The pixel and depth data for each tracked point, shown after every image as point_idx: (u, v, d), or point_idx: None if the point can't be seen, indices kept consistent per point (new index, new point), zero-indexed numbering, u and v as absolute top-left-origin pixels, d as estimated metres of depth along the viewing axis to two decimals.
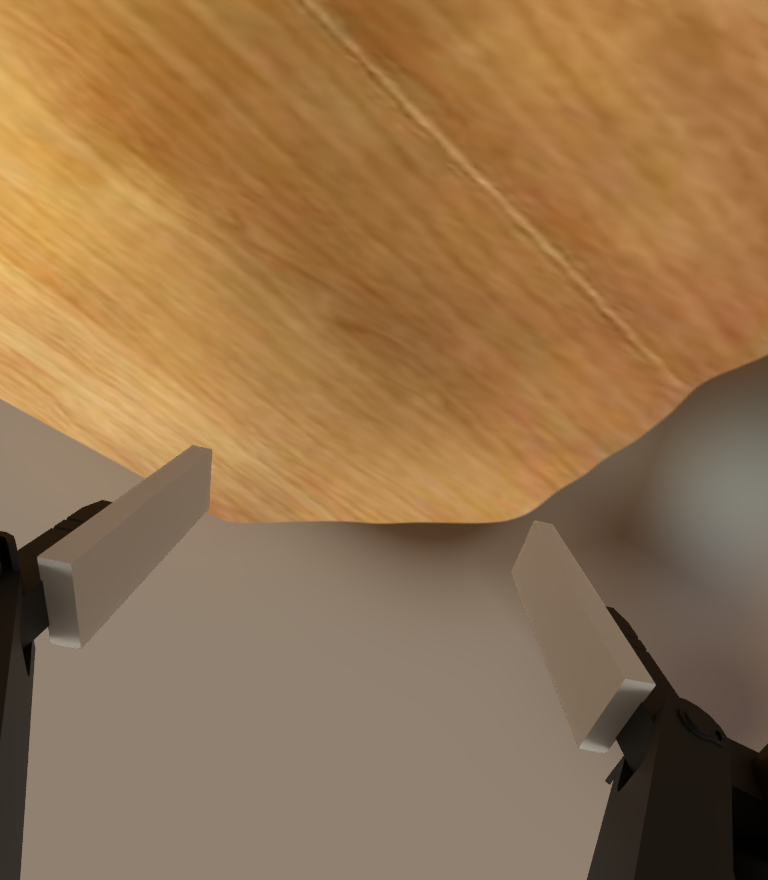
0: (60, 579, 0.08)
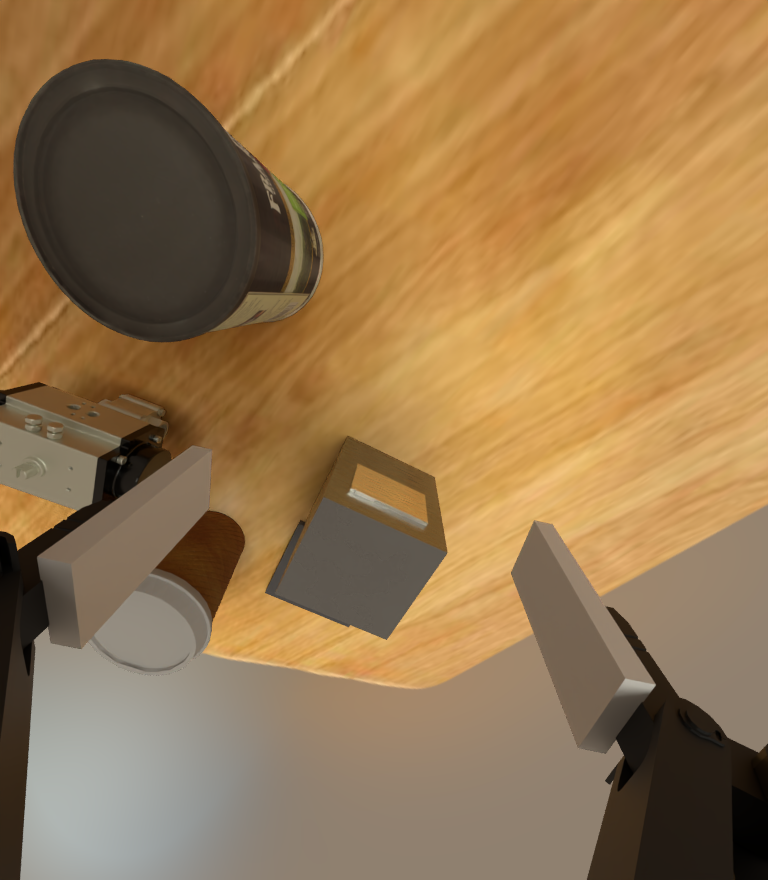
0: (60, 579, 0.08)
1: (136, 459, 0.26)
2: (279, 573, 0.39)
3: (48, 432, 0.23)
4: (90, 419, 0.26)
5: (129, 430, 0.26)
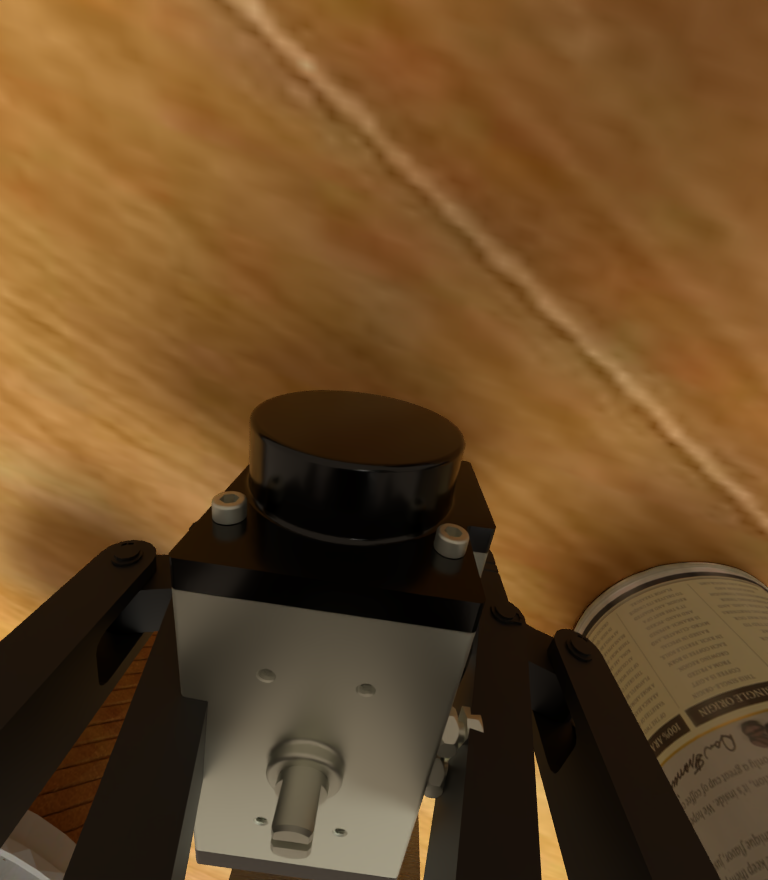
0: None
1: None
2: None
3: (442, 785, 0.07)
4: None
5: None
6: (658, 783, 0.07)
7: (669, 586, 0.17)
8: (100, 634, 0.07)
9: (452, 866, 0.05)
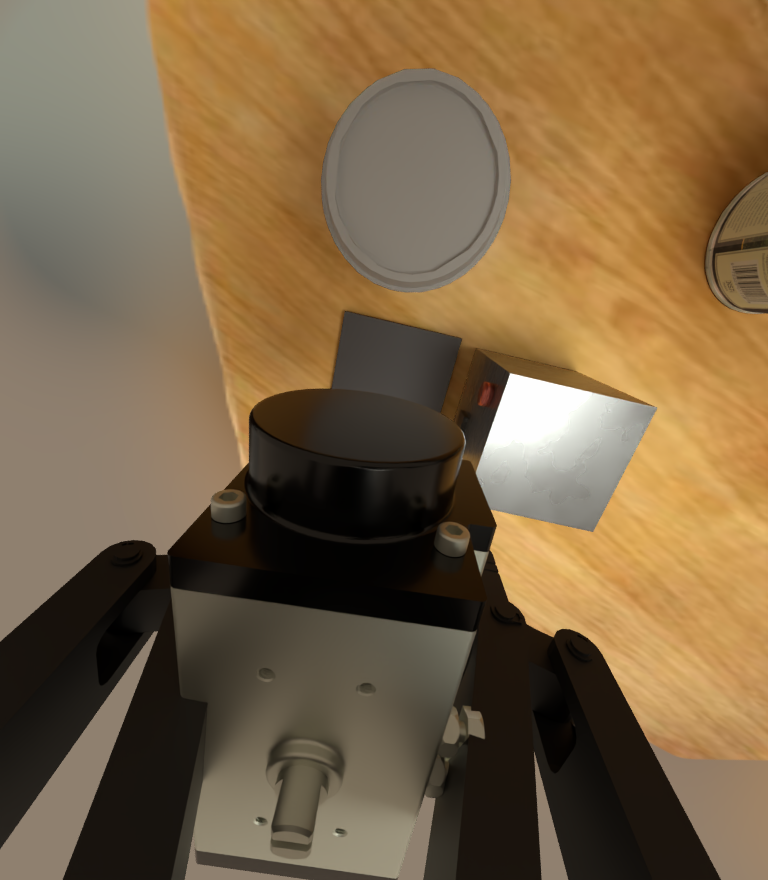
0: None
1: None
2: (381, 326, 0.31)
3: (443, 785, 0.07)
4: None
5: None
6: (658, 783, 0.07)
7: None
8: (101, 634, 0.08)
9: (452, 866, 0.05)
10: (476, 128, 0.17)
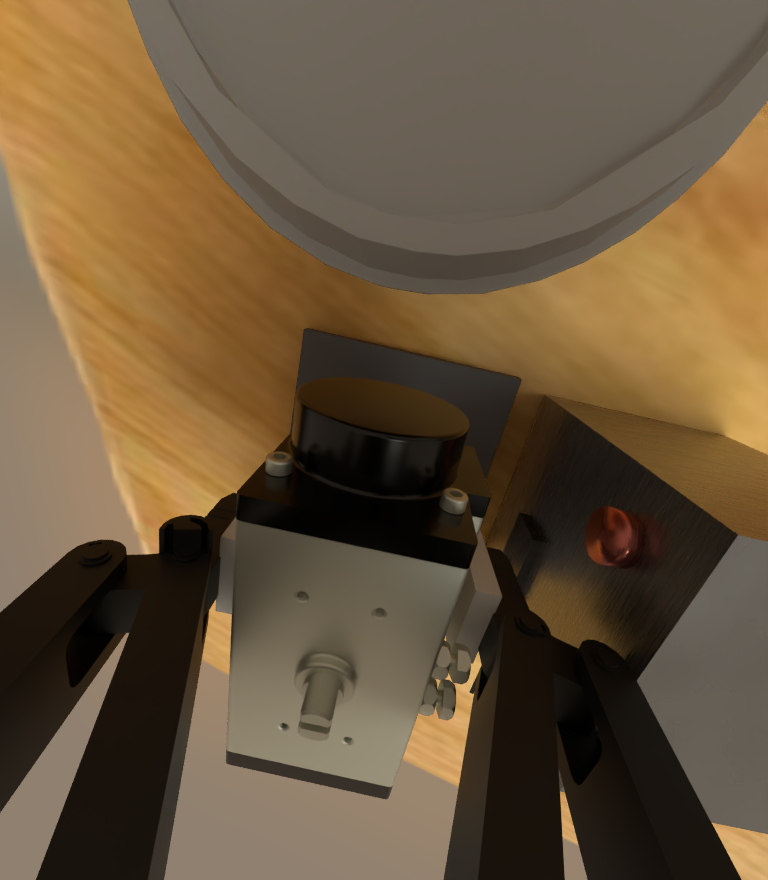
0: None
1: None
2: (373, 356, 0.17)
3: (434, 705, 0.09)
4: None
5: None
6: (688, 800, 0.07)
7: None
8: (70, 634, 0.07)
9: (473, 875, 0.05)
10: None
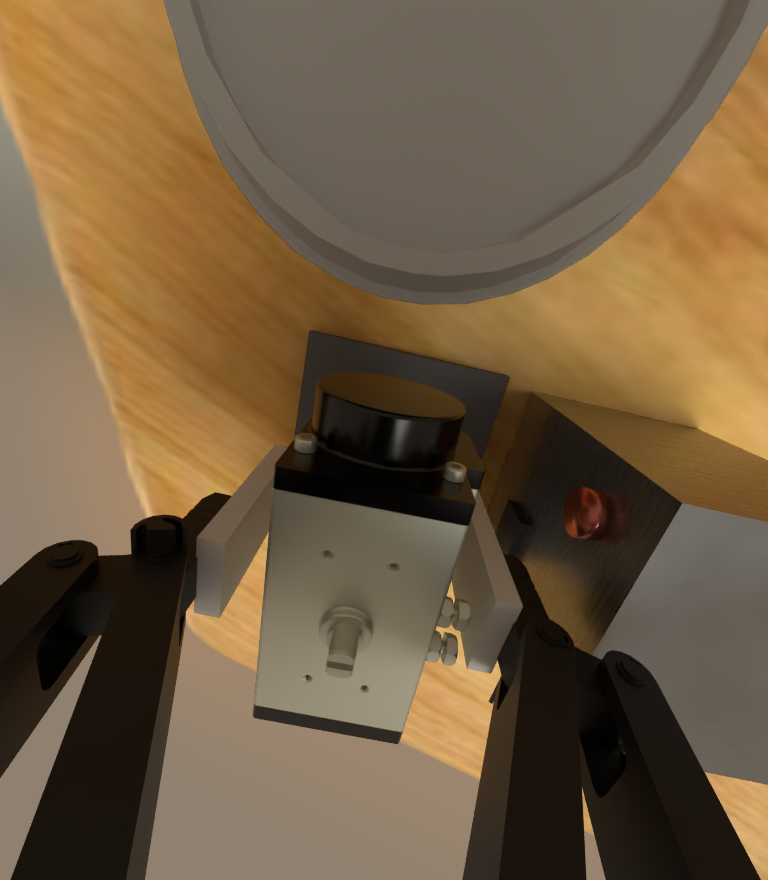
0: (213, 556, 0.10)
1: None
2: (372, 356, 0.18)
3: (439, 652, 0.10)
4: None
5: None
6: (717, 819, 0.06)
7: None
8: (39, 637, 0.07)
9: None
10: None
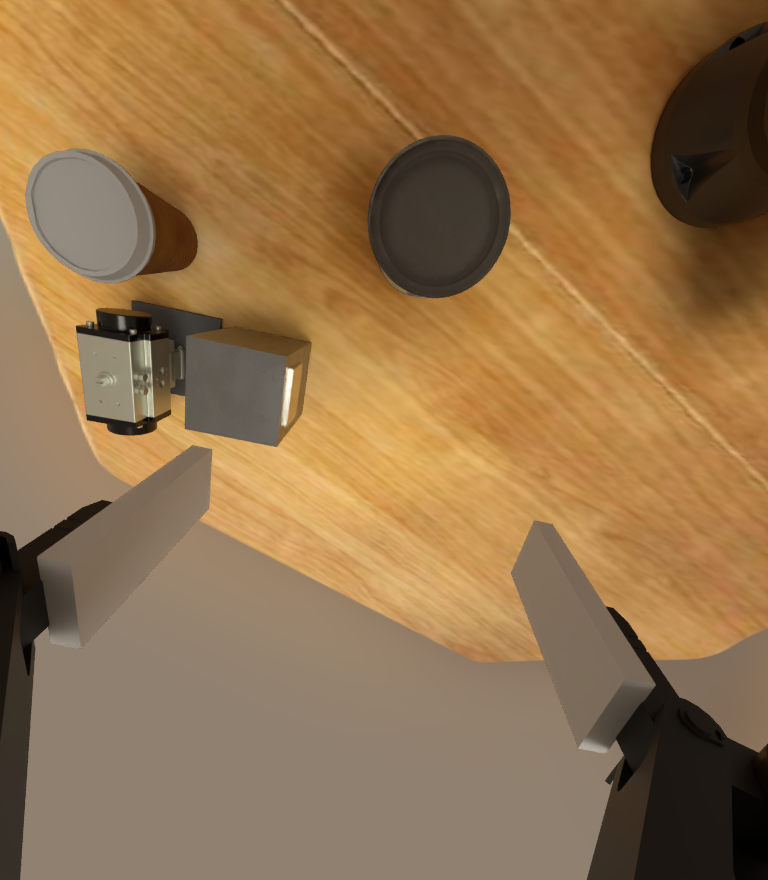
0: (60, 579, 0.08)
1: (143, 427, 0.38)
2: (160, 311, 0.42)
3: (138, 389, 0.35)
4: (157, 389, 0.37)
5: (161, 411, 0.39)
6: None
7: None
8: None
9: None
10: (111, 183, 0.28)
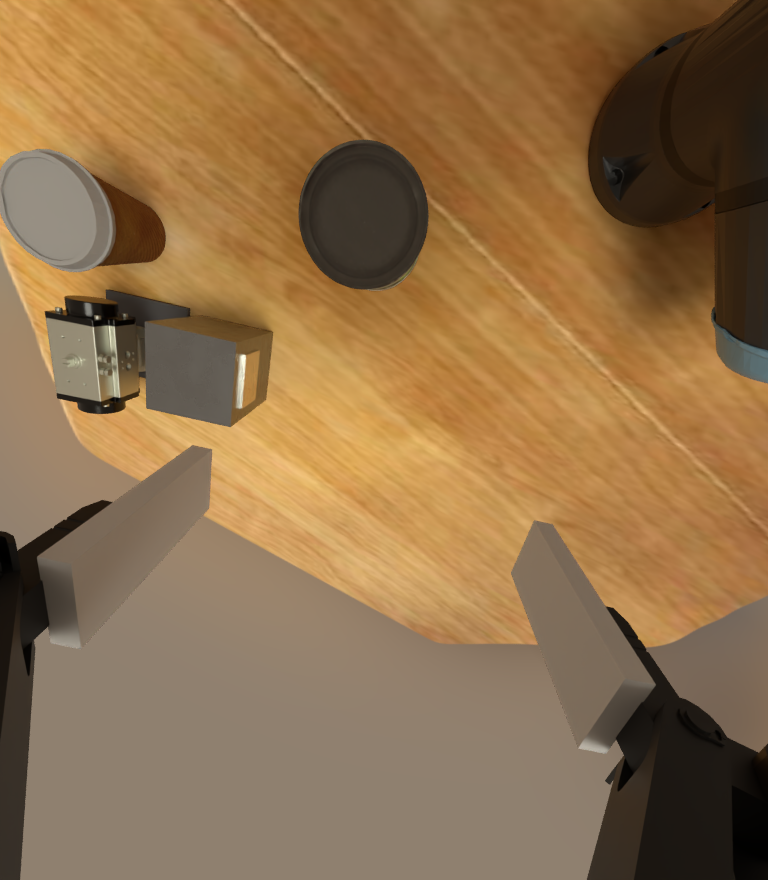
0: (60, 579, 0.08)
1: (110, 406, 0.41)
2: (132, 299, 0.45)
3: (102, 371, 0.38)
4: (123, 372, 0.40)
5: (127, 392, 0.42)
6: None
7: None
8: None
9: None
10: (72, 181, 0.31)
